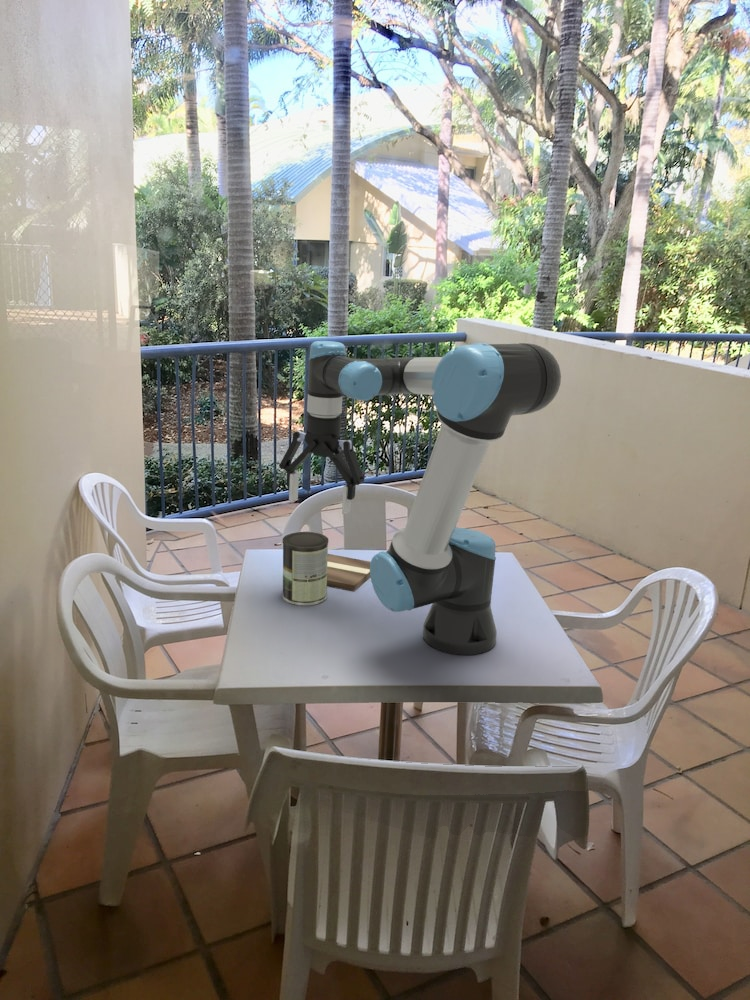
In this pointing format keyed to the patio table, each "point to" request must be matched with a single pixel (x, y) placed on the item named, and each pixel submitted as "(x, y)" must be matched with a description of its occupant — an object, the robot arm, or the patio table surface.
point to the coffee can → (305, 568)
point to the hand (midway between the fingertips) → (319, 506)
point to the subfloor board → (346, 573)
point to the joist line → (348, 568)
